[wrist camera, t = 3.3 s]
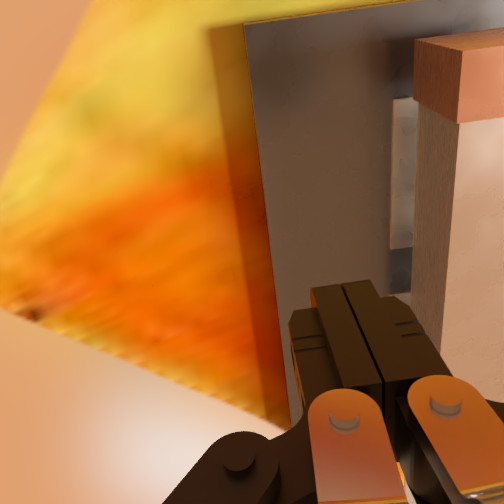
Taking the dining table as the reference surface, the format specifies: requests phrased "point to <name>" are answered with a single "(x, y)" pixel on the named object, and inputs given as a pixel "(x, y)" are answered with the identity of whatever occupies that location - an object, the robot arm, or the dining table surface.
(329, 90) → the label panel
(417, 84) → the swing bar
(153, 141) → the dining table surface
